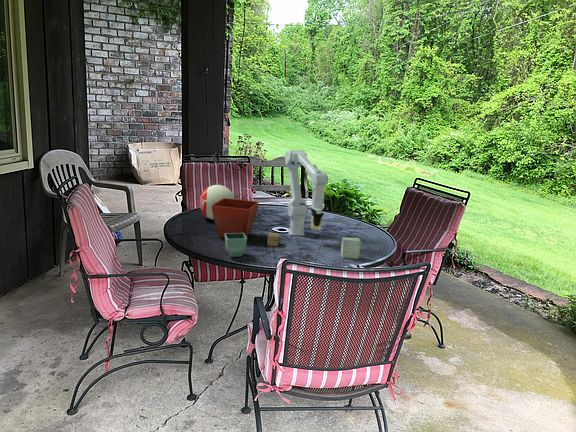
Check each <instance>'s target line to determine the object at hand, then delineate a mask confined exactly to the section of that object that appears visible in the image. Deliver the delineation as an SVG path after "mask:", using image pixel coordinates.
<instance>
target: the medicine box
mask: <svg viewBox="0 0 576 432" xmlns="http://www.w3.org/2000/svg"><path fill="white" fill-rule="evenodd" d="M361 243H362V241H361V239H360V238H359V237H341V246H340V256H341V258H342V259H355V260H358V259H360V250H361Z"/></svg>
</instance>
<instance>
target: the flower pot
mask: <svg viewBox="0 0 576 432" xmlns="http://www.w3.org/2000/svg"><path fill="white" fill-rule="evenodd" d="M224 235H225V238H224V243H225V248H226V251H227V252H228V255H229V257H230V258H234V257H243V255H244V254H245V252H246V249H247V240H248V236H247V237H246V236H245V234H244V233H225V234H224Z"/></svg>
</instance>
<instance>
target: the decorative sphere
mask: <svg viewBox="0 0 576 432" xmlns="http://www.w3.org/2000/svg"><path fill="white" fill-rule="evenodd" d="M234 196H235V195H234V194H233V192H232V191H231V190H230V189H229V187H227V186H224V185H222V184H214V185H210V186H207V187H206V188H205V189H204V190H203V191H202V193H201V194H200V197H199V201H198V202H199V203H198V204H199V208H200V211H201V213H202V214H203V215H204V216H205V217H206V218H208V219H210V220H213V221H214V218H213V212H212V205H213V204H214V203H216V202H218V201H220V200H221V199H223V198H228V199H236V198H235V197H234Z"/></svg>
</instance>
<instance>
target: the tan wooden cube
mask: <svg viewBox="0 0 576 432" xmlns="http://www.w3.org/2000/svg"><path fill="white" fill-rule="evenodd" d="M267 246H268V247H269V246H270V247H278V246H279V233H275V232H268V233H267Z"/></svg>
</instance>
